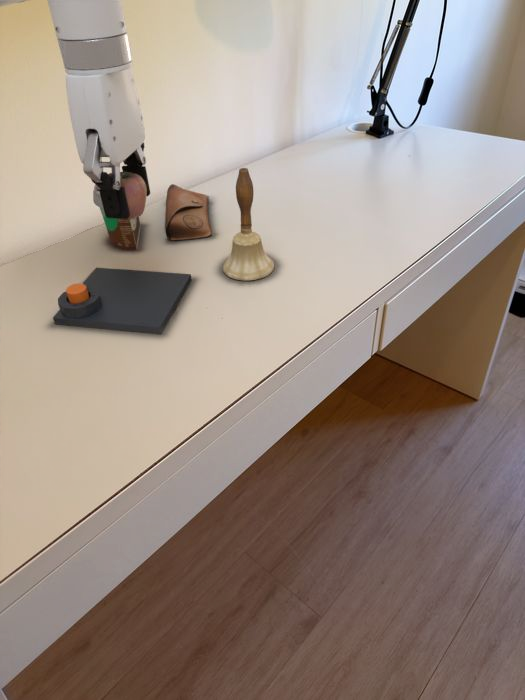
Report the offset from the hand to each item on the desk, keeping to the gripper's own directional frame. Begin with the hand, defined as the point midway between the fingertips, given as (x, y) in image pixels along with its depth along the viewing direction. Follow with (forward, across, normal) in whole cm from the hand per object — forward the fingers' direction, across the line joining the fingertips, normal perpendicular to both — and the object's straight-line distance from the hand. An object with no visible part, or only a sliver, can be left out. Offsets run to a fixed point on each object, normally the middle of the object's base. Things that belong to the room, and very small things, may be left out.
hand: (128, 204), depth 70 cm
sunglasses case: (+15, -27, -2) cm, 31 cm away
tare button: (+12, +6, -8) cm, 15 cm away
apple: (+2, +1, 0) cm, 2 cm away
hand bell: (+15, -10, +13) cm, 22 cm away
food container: (+15, -18, -12) cm, 26 cm away
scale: (+15, +2, -3) cm, 15 cm away
